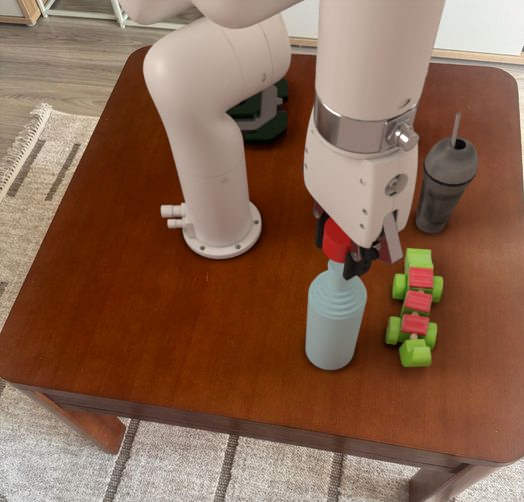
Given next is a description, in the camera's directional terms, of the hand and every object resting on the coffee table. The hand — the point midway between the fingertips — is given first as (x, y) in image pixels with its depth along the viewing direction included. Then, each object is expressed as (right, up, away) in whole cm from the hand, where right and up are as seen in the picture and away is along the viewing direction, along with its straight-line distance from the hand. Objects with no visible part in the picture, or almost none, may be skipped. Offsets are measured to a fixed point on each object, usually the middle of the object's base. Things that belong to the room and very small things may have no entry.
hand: (342, 255), depth 55 cm
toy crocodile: (+13, -5, +21) cm, 25 cm away
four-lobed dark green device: (-13, +33, +41) cm, 54 cm away
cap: (0, +1, -1) cm, 1 cm away
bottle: (+1, -10, +19) cm, 21 cm away
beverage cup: (+18, +10, +28) cm, 35 cm away
